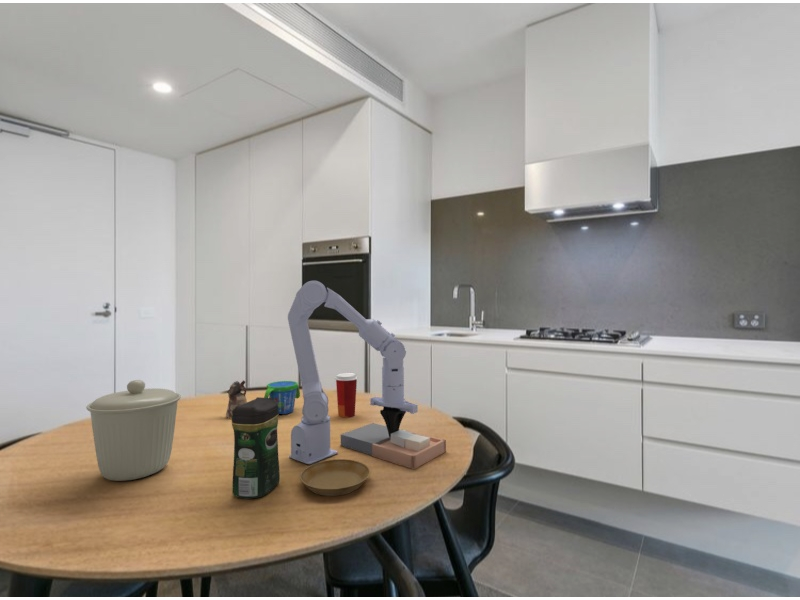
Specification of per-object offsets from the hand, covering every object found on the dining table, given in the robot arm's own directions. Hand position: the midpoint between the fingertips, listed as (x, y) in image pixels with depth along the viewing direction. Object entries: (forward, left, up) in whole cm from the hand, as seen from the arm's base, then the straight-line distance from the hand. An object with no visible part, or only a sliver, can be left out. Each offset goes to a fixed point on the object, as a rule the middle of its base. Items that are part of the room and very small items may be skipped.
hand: (393, 436), depth 105 cm
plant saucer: (-23, -3, -4) cm, 23 cm away
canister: (-47, +38, -4) cm, 61 cm away
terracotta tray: (0, -5, -3) cm, 6 cm away
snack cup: (+4, +54, -4) cm, 54 cm away
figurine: (-8, +63, -4) cm, 64 cm away
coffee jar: (-35, +8, -4) cm, 36 cm away
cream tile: (0, -8, -1) cm, 8 cm away
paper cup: (+15, +33, -4) cm, 37 cm away
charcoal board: (0, +7, -3) cm, 8 cm away
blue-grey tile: (0, -3, -1) cm, 3 cm away
